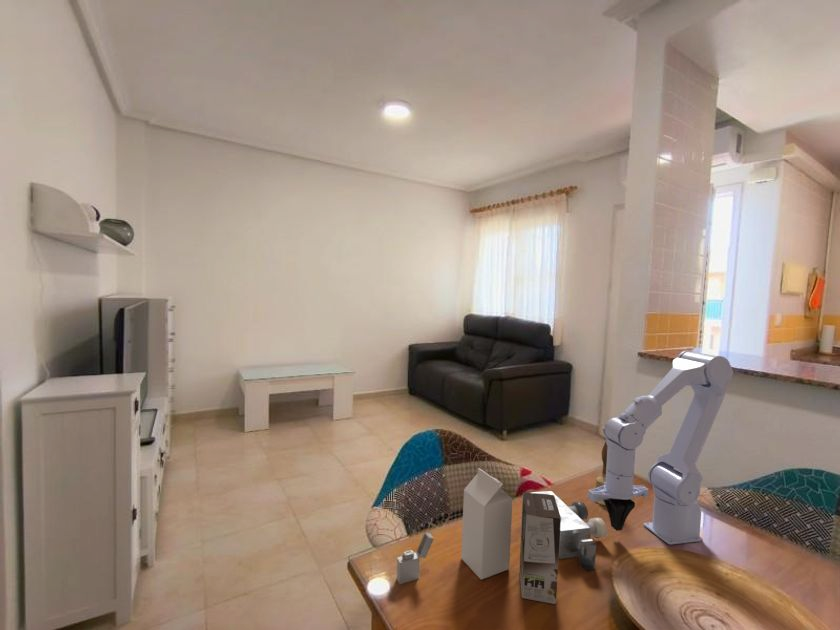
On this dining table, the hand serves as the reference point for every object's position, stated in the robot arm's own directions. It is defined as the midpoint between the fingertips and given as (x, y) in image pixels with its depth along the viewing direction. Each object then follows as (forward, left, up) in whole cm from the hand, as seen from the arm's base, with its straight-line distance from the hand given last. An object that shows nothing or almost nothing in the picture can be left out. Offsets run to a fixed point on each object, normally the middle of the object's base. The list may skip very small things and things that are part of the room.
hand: (616, 528), depth 92 cm
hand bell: (-9, -16, -3) cm, 19 cm away
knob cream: (+8, 0, -1) cm, 8 cm away
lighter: (+49, +5, -3) cm, 49 cm away
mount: (+14, -3, -2) cm, 14 cm away
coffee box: (+26, +11, -3) cm, 28 cm away
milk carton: (+34, +4, -3) cm, 34 cm away
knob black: (+8, -7, -1) cm, 11 cm away
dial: (+13, +8, -2) cm, 15 cm away
